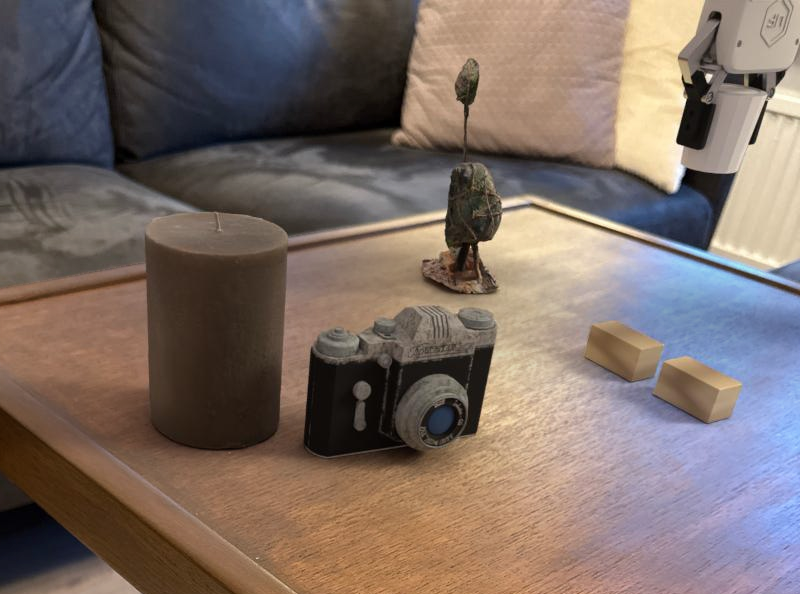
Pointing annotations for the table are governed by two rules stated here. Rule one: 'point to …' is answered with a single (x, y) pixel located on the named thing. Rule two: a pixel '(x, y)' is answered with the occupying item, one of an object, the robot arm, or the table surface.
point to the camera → (399, 382)
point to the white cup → (727, 130)
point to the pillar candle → (215, 327)
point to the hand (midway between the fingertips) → (715, 142)
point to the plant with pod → (467, 211)
